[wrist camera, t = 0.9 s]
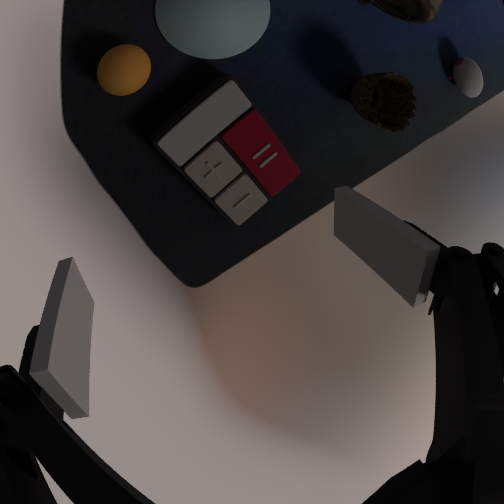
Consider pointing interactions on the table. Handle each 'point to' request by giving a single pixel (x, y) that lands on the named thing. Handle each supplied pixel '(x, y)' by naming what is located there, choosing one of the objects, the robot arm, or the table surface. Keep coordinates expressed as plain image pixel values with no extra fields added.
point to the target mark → (212, 25)
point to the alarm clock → (408, 9)
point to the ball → (123, 69)
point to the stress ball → (467, 77)
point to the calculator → (227, 149)
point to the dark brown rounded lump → (384, 100)
